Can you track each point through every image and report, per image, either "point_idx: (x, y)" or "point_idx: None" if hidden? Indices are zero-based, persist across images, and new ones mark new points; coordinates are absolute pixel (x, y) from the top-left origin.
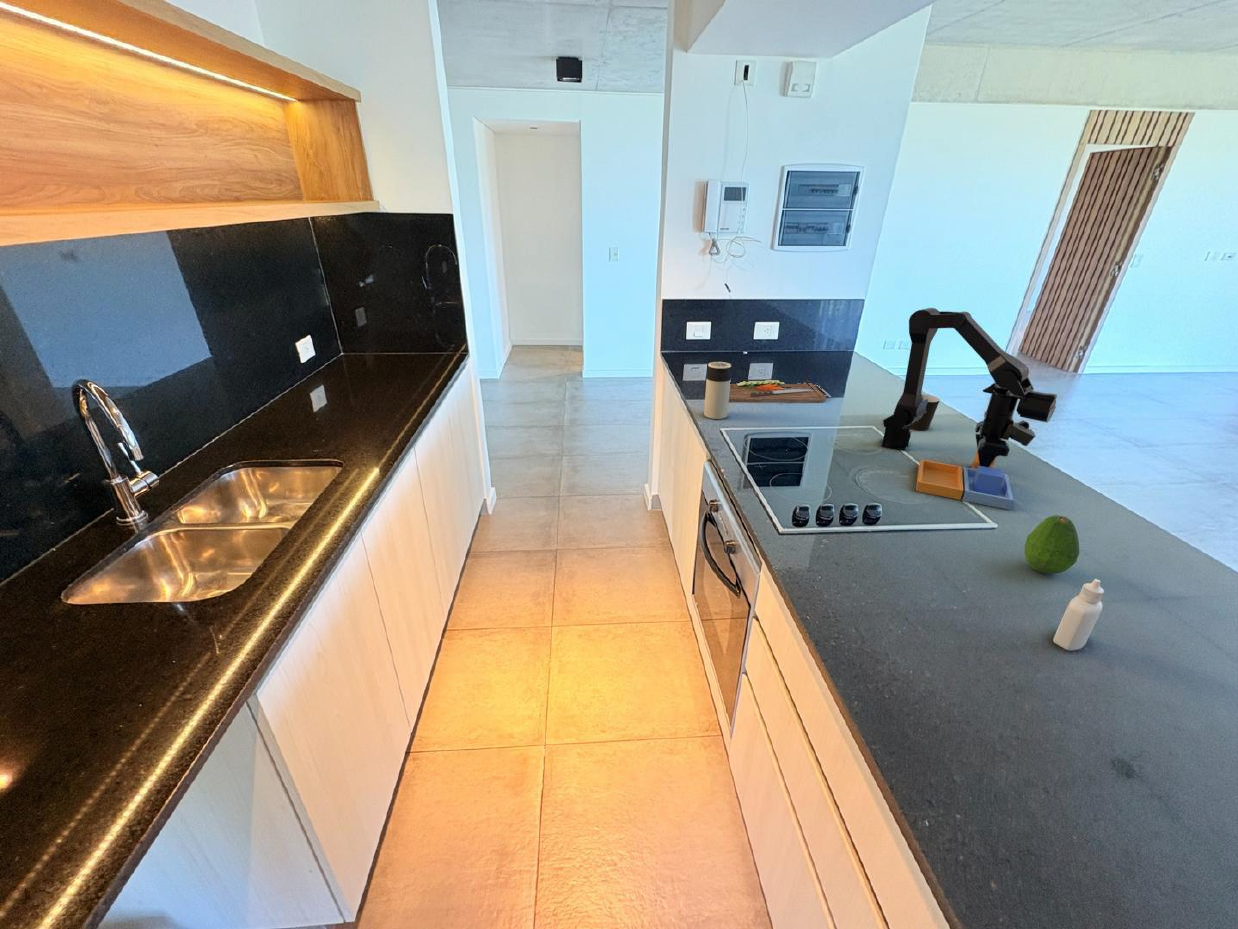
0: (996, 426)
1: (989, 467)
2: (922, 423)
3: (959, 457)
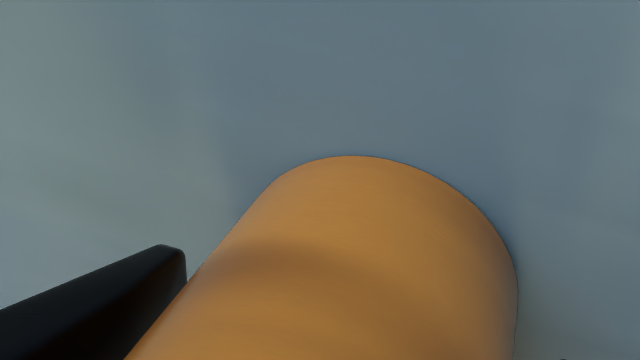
0: None
1: (496, 345)
2: None
3: None
